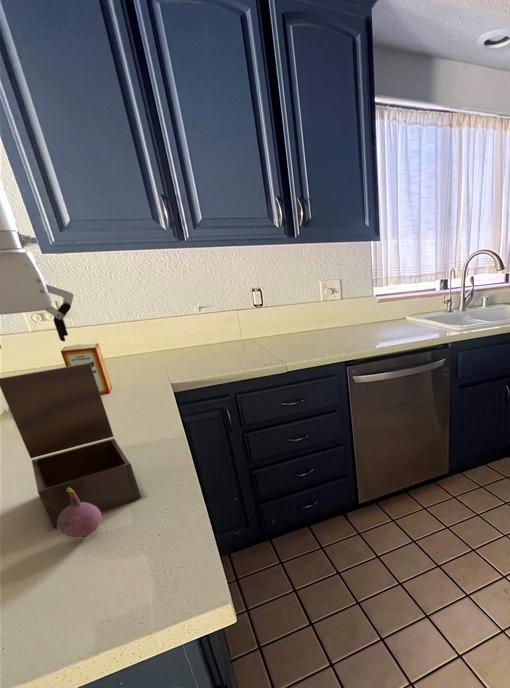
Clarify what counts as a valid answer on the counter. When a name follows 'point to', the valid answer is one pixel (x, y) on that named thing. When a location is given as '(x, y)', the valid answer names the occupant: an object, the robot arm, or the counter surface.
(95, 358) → the baking soda box
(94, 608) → the counter surface
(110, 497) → the chest
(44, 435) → the lid
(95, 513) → the vegetable
